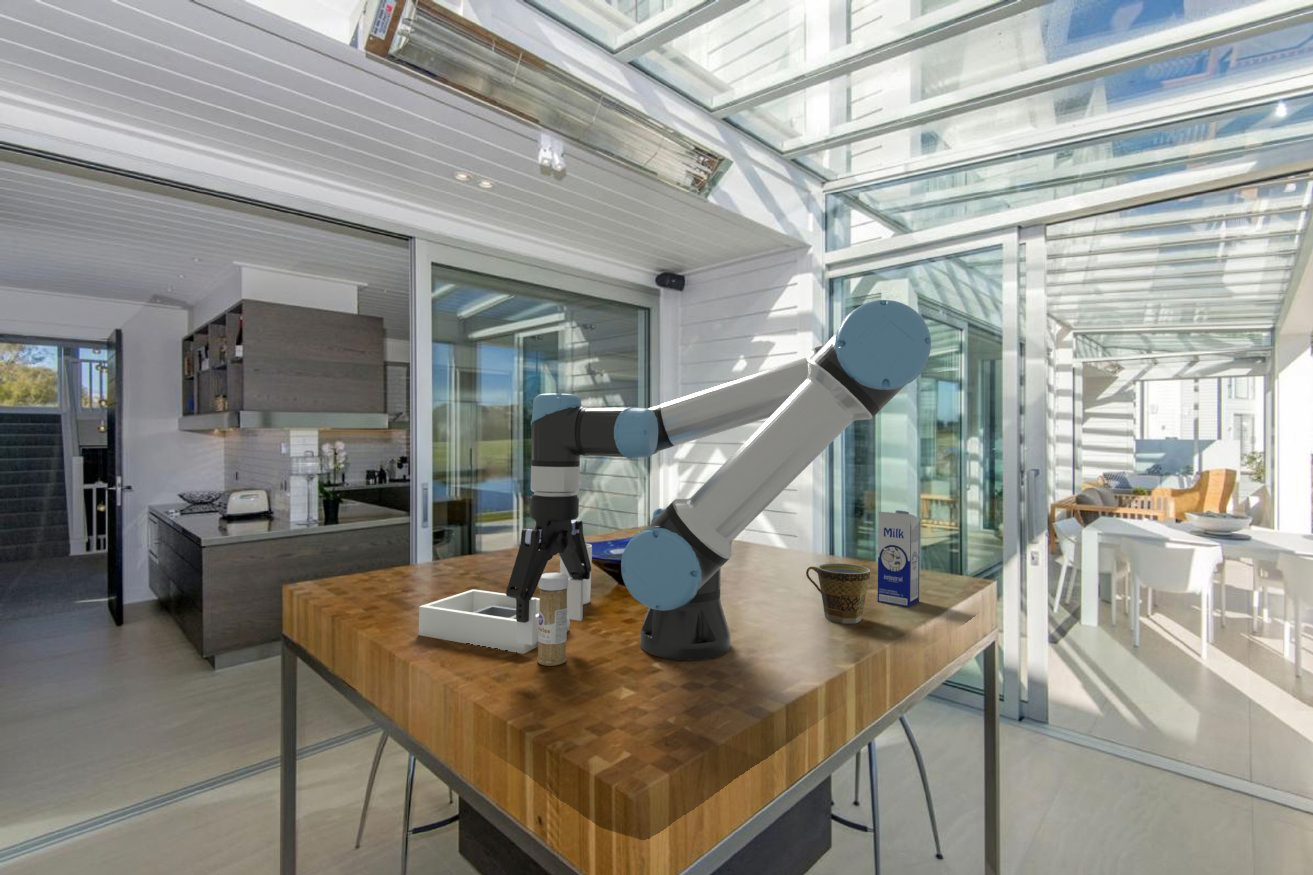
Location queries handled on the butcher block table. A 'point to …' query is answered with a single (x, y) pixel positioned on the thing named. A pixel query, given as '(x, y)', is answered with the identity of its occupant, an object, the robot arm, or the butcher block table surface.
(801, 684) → the butcher block table surface
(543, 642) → the sprinkles bottle
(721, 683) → the butcher block table surface
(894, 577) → the milk carton
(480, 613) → the tray
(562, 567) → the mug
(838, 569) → the ceramic cup
